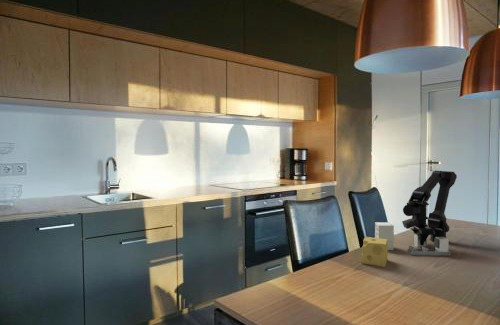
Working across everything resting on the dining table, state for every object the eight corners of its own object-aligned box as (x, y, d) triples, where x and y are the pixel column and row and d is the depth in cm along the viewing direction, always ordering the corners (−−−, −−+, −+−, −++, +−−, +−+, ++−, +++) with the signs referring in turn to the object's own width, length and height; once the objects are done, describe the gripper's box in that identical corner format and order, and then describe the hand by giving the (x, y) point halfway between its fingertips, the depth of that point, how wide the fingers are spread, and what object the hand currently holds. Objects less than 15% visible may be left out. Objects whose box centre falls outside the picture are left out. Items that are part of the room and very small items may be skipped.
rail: (445, 253, 159) (446, 236, 159) (450, 255, 155) (450, 239, 155) (407, 252, 160) (407, 236, 160) (411, 255, 156) (411, 238, 156)
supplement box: (389, 246, 171) (389, 222, 171) (393, 250, 164) (394, 225, 163) (374, 245, 172) (374, 221, 171) (378, 250, 165) (378, 225, 164)
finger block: (423, 244, 173) (423, 233, 173) (426, 247, 169) (426, 235, 169) (414, 244, 174) (414, 233, 174) (417, 247, 170) (417, 235, 170)
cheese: (360, 263, 145) (361, 241, 145) (364, 256, 155) (365, 235, 154) (386, 267, 140) (386, 244, 140) (388, 260, 150) (388, 238, 150)
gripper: (397, 210, 181) (397, 238, 181) (412, 217, 162) (411, 249, 163) (418, 210, 180) (417, 239, 181) (435, 218, 161) (434, 249, 162)
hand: (419, 243), depth 172 cm, fingers closed on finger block, 4 cm apart
